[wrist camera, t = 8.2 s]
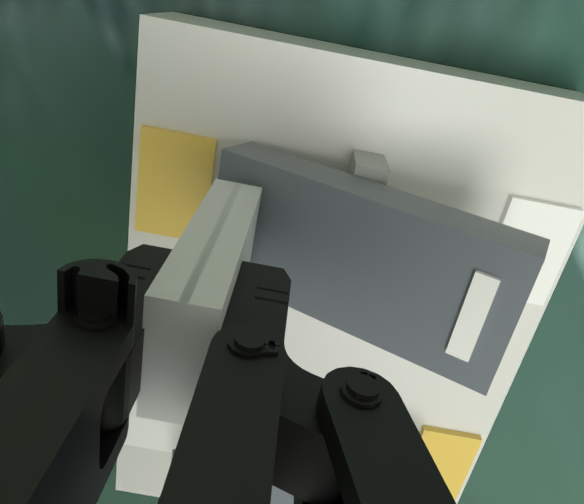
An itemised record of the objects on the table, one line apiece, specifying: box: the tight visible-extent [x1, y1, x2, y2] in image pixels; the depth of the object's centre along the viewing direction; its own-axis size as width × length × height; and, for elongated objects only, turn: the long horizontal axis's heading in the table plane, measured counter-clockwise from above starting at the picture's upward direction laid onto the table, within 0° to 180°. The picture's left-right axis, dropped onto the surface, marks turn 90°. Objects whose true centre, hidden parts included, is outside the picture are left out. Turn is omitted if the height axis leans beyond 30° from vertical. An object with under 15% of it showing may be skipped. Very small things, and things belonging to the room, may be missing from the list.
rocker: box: [218, 141, 550, 396], centre depth 15 cm, size 9×4×2 cm, turn 81°
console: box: [116, 12, 584, 504], centre depth 21 cm, size 15×20×6 cm
